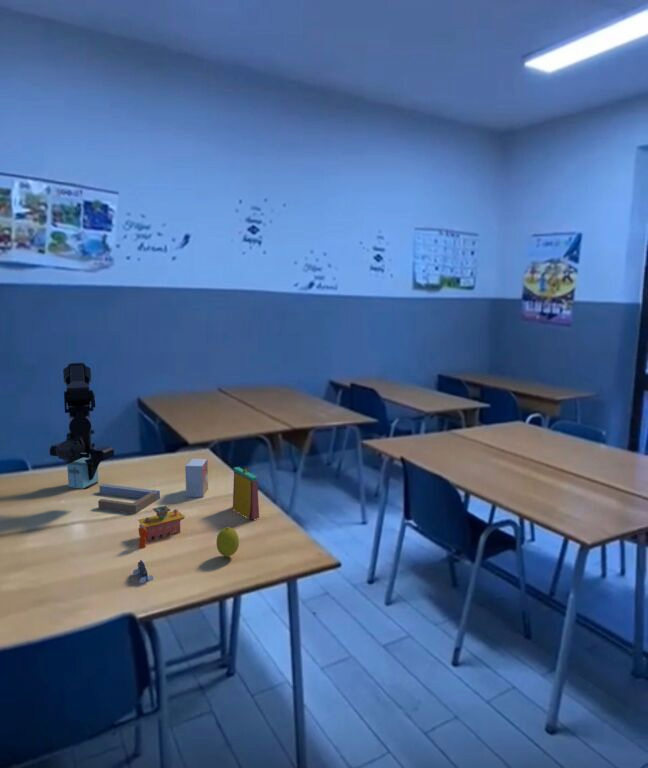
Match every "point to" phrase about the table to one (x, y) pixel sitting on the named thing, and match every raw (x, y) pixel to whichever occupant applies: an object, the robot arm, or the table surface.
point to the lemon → (227, 541)
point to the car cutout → (142, 572)
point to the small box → (196, 477)
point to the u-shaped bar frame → (144, 495)
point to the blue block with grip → (80, 474)
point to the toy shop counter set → (169, 522)
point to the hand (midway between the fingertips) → (83, 478)
